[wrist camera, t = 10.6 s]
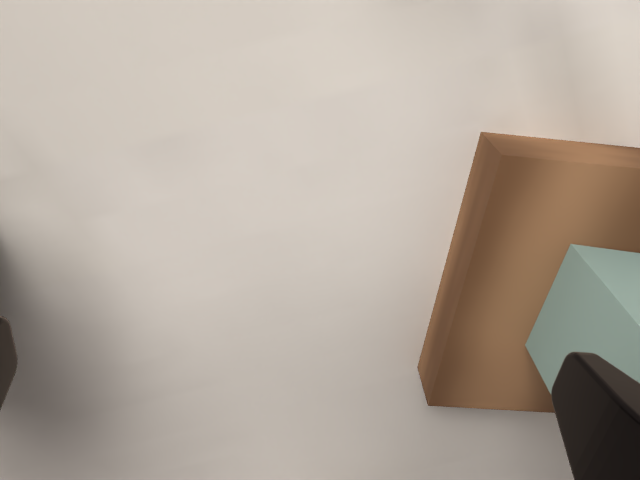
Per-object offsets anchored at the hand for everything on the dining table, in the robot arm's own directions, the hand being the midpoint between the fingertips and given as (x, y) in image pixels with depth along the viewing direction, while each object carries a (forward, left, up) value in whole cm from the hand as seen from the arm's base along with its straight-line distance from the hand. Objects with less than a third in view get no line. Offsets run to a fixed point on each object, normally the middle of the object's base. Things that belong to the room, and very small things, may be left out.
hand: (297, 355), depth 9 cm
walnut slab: (+13, -6, -14) cm, 20 cm away
